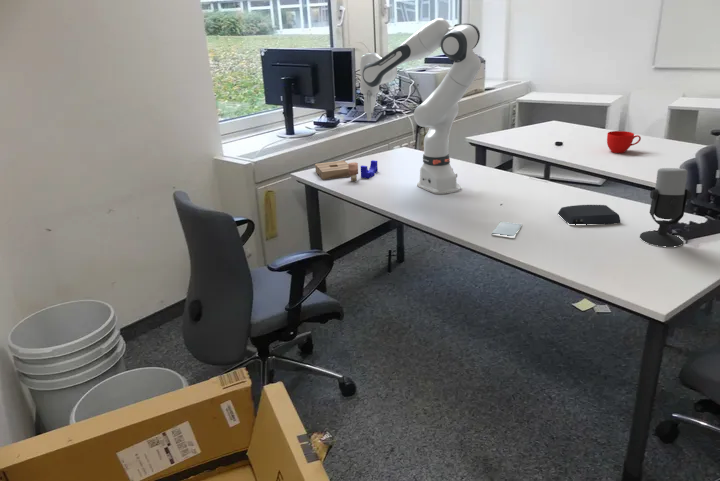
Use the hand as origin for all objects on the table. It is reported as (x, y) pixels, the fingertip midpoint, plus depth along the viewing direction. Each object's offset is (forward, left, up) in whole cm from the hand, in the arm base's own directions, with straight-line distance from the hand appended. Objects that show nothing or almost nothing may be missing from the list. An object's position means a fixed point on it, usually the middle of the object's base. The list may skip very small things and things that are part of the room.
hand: (370, 118), depth 246 cm
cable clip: (+2, 0, -29) cm, 29 cm away
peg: (-3, +11, -29) cm, 31 cm away
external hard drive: (-89, -57, -30) cm, 110 cm away
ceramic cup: (-17, -138, -29) cm, 142 cm away
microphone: (-114, -66, -29) cm, 135 cm away
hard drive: (-87, -23, -30) cm, 95 cm away
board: (+13, +17, -29) cm, 36 cm away
